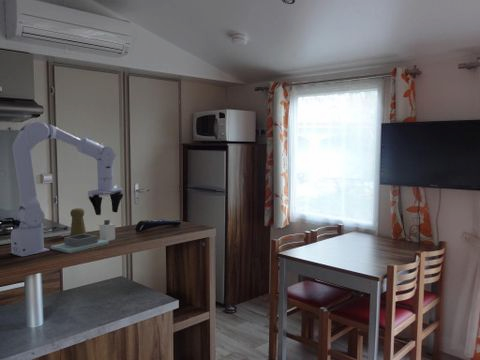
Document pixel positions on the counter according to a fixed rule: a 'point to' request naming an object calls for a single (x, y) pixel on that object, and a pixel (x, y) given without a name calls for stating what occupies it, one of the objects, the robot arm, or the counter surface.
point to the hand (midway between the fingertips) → (106, 213)
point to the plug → (107, 231)
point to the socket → (79, 243)
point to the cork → (77, 222)
